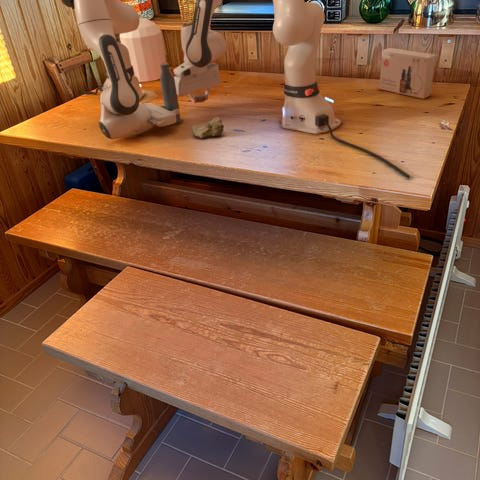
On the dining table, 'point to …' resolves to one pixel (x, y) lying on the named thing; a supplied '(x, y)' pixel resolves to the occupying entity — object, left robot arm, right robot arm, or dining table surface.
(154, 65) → the container
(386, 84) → the skincare box
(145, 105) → the left robot arm
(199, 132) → the rock
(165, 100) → the bottle
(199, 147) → the dining table surface
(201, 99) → the cap
